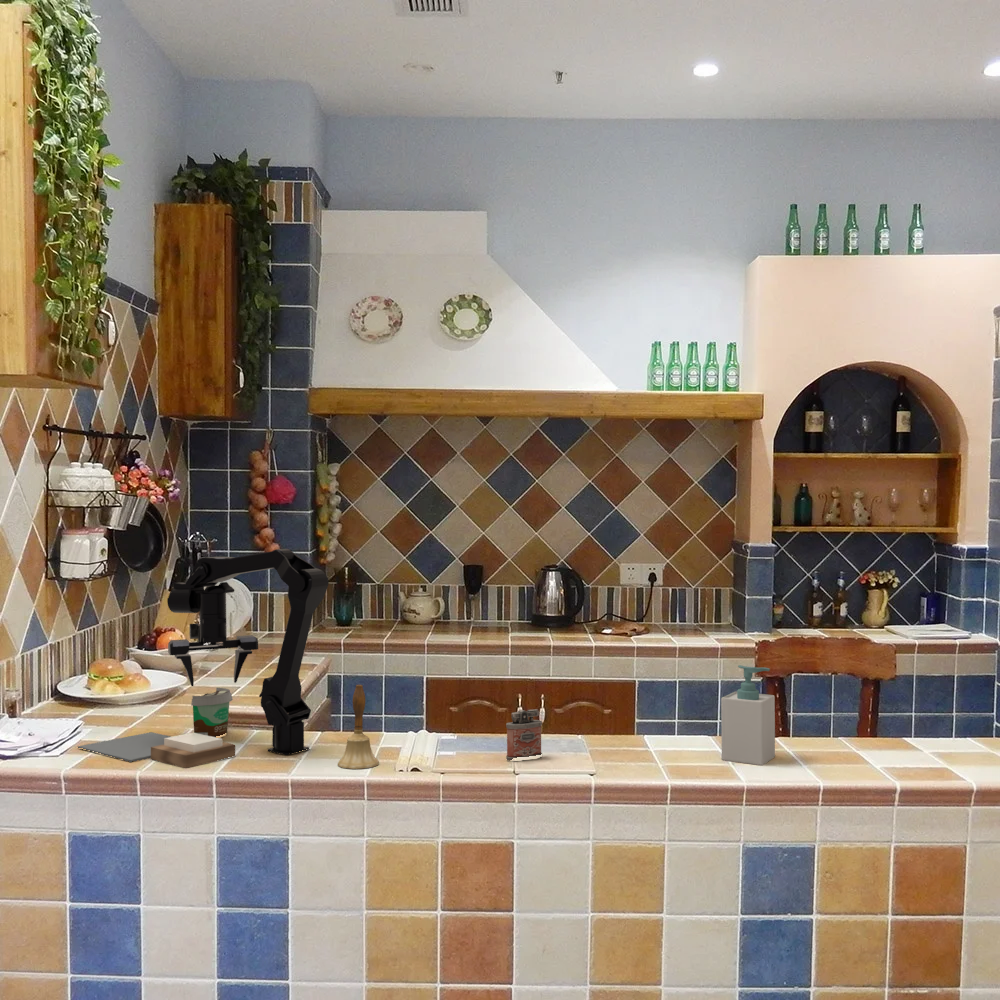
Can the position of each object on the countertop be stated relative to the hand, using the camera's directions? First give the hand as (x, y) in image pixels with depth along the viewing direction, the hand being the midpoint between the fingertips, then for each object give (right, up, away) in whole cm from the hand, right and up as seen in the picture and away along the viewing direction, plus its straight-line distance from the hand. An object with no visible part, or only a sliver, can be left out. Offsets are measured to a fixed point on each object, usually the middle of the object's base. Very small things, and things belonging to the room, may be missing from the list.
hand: (213, 684), depth 219 cm
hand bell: (+35, -13, -19) cm, 42 cm away
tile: (0, -10, -14) cm, 17 cm away
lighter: (+68, -13, -14) cm, 71 cm away
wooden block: (0, -13, -14) cm, 19 cm away
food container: (-1, -13, +7) cm, 15 cm away
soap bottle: (+115, -13, -14) cm, 116 cm away
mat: (-14, -13, -4) cm, 20 cm away
